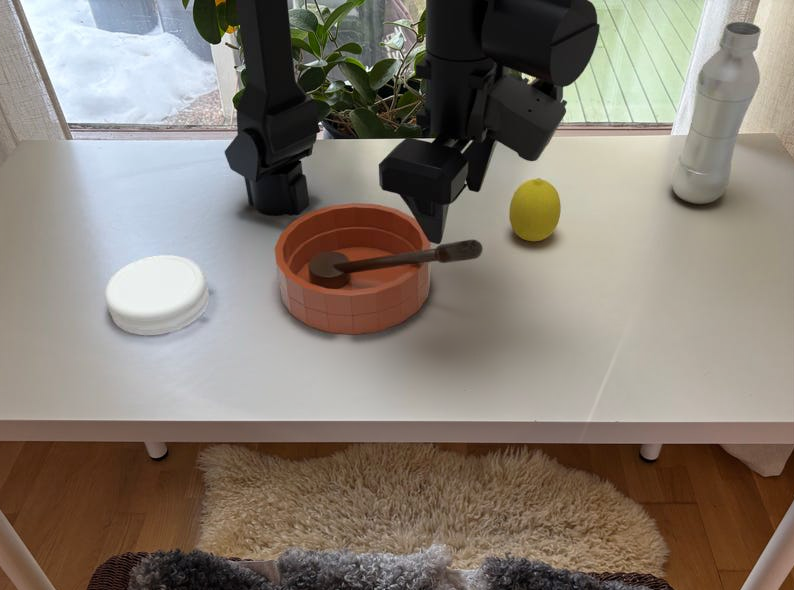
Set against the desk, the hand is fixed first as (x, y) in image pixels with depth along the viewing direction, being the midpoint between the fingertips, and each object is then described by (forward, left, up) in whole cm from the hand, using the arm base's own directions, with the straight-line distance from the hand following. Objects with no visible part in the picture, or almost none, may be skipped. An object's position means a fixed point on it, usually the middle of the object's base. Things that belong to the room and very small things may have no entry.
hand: (455, 215), depth 71 cm
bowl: (-11, -1, -12) cm, 16 cm away
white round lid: (-28, -12, -12) cm, 32 cm away
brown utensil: (-6, -1, -11) cm, 13 cm away
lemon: (+3, +15, -12) cm, 19 cm away
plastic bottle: (+18, +32, -12) cm, 39 cm away
